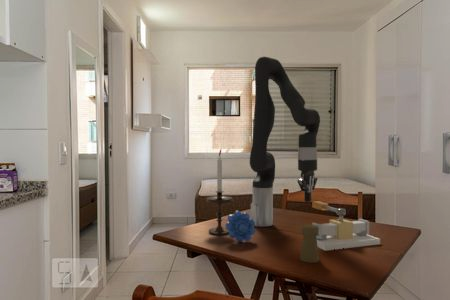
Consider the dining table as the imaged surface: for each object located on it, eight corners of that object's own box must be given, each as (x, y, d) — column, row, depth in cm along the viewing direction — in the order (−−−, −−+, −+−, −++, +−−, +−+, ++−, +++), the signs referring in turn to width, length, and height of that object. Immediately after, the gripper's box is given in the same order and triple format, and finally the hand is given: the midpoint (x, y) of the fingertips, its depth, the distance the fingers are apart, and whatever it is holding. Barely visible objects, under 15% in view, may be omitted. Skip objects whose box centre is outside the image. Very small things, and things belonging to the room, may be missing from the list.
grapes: (228, 246, 126) (228, 213, 126) (224, 241, 132) (224, 210, 132) (259, 244, 129) (259, 212, 128) (253, 239, 135) (253, 208, 135)
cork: (297, 256, 115) (297, 223, 115) (315, 256, 116) (315, 223, 116) (303, 262, 109) (303, 227, 109) (322, 262, 110) (322, 227, 110)
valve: (324, 250, 121) (325, 221, 121) (303, 240, 135) (303, 213, 134) (380, 244, 129) (380, 216, 129) (354, 234, 143) (354, 209, 142)
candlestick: (227, 228, 152) (227, 148, 152) (236, 234, 142) (236, 148, 141) (203, 230, 149) (203, 148, 148) (210, 236, 139) (210, 148, 138)
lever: (340, 216, 130) (340, 209, 130) (312, 207, 147) (312, 201, 147) (347, 215, 131) (347, 208, 131) (318, 206, 148) (318, 201, 148)
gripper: (306, 157, 148) (307, 198, 148) (290, 159, 138) (291, 202, 138) (323, 158, 143) (323, 200, 143) (308, 159, 133) (308, 204, 133)
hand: (307, 201), depth 141 cm, fingers closed
